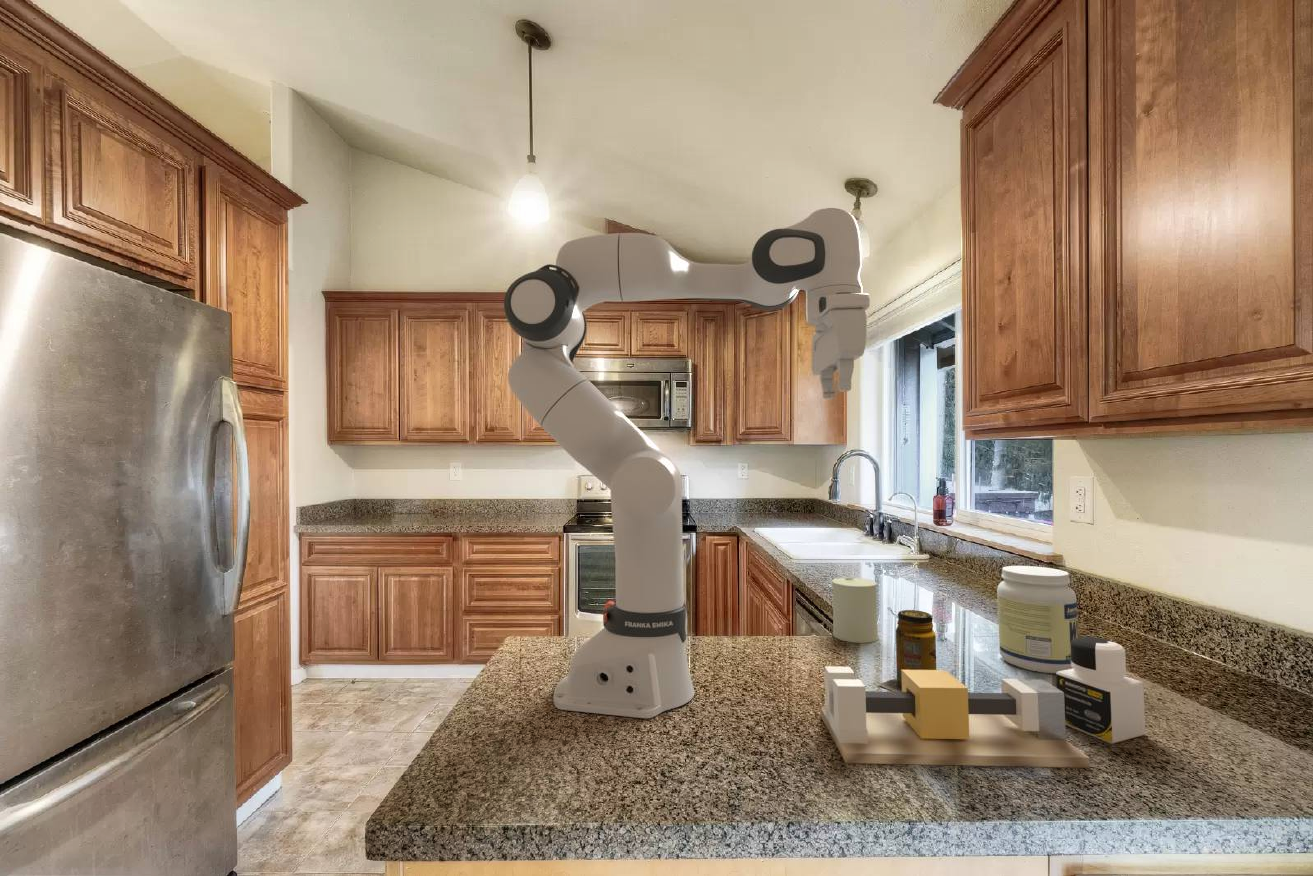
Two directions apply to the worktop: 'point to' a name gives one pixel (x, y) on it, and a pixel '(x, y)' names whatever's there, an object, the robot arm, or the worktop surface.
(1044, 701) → the block
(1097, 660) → the medicine bottle
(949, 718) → the sleeve
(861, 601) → the can
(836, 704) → the white bar support
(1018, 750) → the board
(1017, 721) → the white rectangular block
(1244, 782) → the worktop surface
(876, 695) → the dark gray bar
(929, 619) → the condiment
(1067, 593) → the supplement tub
